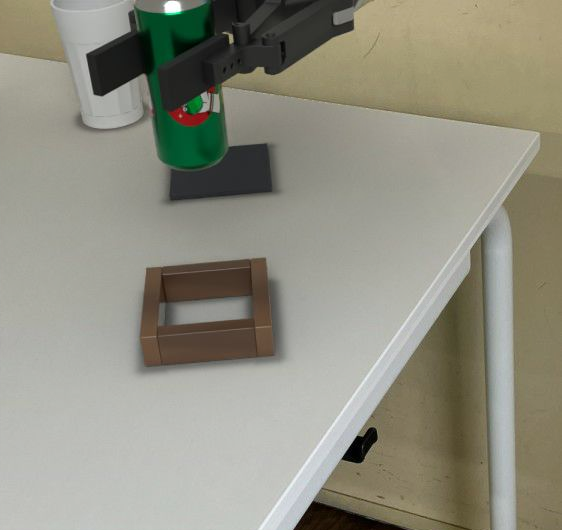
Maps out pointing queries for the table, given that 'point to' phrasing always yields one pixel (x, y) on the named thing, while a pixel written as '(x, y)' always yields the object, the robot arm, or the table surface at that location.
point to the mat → (226, 175)
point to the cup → (85, 38)
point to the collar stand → (207, 335)
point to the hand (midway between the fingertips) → (129, 82)
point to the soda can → (198, 112)
